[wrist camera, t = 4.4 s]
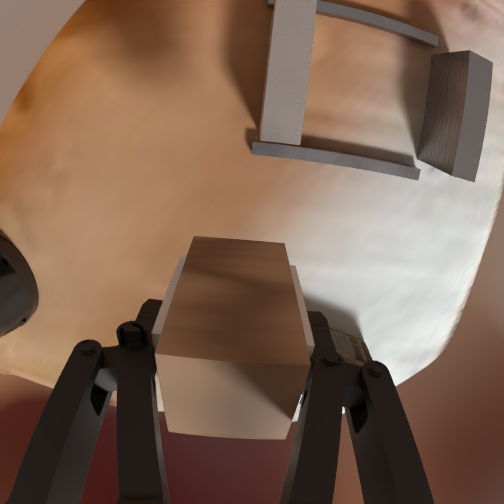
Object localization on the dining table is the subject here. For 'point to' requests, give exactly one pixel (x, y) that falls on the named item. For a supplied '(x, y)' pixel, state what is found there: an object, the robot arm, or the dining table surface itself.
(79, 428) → the robot arm
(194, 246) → the block
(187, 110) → the dining table surface
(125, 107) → the dining table surface
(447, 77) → the vise body
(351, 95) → the dining table surface
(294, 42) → the block
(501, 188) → the dining table surface
